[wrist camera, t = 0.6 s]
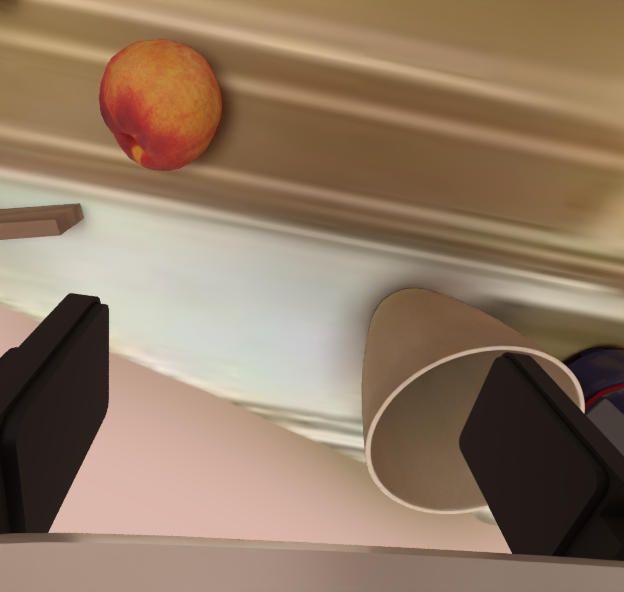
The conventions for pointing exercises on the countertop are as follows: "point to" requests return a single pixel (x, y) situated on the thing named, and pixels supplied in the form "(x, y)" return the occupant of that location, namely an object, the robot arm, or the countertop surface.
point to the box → (38, 221)
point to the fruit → (160, 103)
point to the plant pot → (433, 395)
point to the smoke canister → (603, 390)
